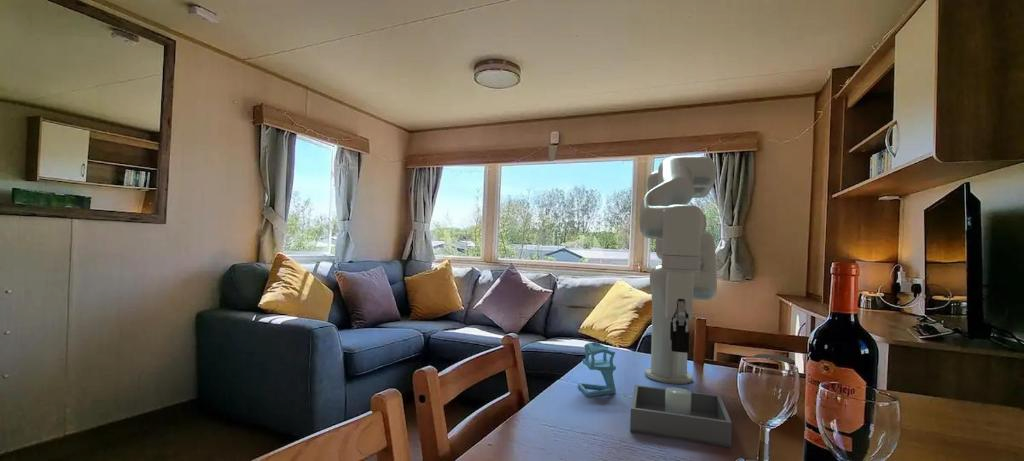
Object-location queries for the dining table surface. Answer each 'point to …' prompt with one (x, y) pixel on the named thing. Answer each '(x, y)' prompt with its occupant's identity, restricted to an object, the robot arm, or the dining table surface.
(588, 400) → the dining table surface
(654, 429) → the bin
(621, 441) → the dining table surface
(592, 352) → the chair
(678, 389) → the pale green capsule
